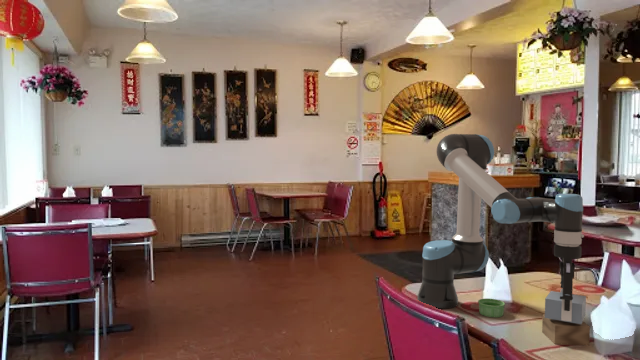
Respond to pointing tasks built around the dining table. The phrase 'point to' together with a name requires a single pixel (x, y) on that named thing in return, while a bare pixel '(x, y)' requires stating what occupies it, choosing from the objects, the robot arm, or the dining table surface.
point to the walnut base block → (566, 332)
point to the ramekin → (491, 307)
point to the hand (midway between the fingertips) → (565, 315)
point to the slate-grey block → (555, 307)
